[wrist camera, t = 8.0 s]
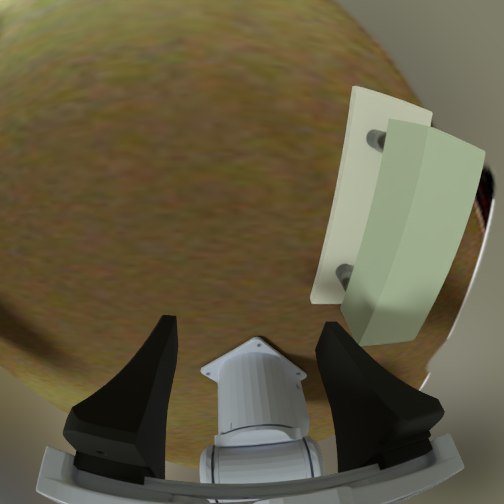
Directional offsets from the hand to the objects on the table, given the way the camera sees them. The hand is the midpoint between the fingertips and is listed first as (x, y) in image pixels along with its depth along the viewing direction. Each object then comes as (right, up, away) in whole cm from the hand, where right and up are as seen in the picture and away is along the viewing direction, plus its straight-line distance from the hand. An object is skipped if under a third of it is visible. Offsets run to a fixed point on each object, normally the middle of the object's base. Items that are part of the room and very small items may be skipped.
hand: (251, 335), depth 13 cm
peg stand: (+10, +8, +8) cm, 15 cm away
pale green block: (+10, +6, +5) cm, 12 cm away
